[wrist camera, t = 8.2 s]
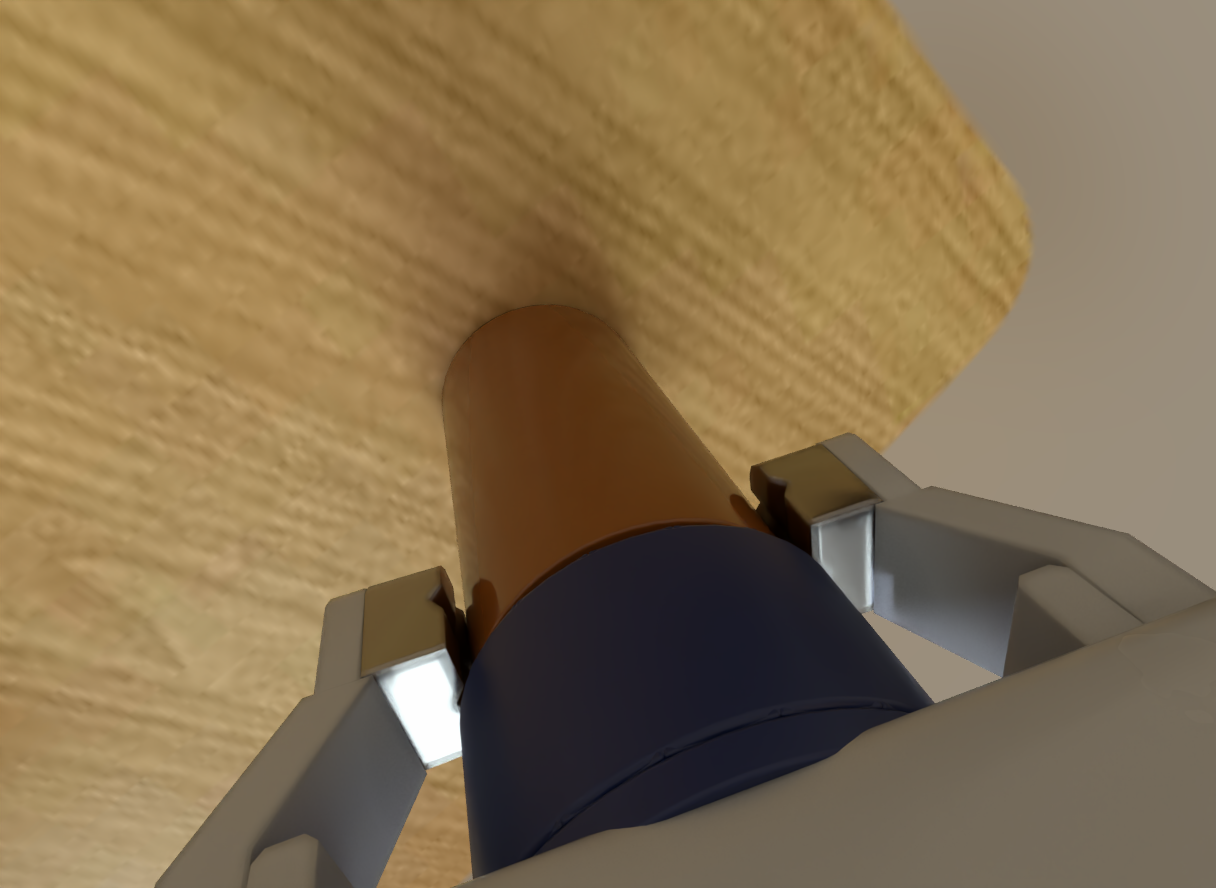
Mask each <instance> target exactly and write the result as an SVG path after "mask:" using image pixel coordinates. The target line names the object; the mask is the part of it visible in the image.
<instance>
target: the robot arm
mask: <svg viewBox="0 0 1216 888" xmlns="http://www.w3.org/2000/svg"><path fill="white" fill-rule="evenodd" d="M750 486H751V491H752V492H753V493H754V495H755V496H756V497H757V498H758V500H759V501H760V504H759V506H758V507H757V509H756V511H757V513H758V514H759V515H760V516H761V518H762V519H763V520H764V522H765V523H766V524H767V525H768V527H769V528H770V529H771V531H772V532H773V533H774V534H775V536H776V537H777V538H780V539H782V540H785V541H787V542H789V543H791V544H793V545H794V546H796V547H798V548H799V549H801V550H803V551H805V552H806V553H807V554H808V555H810V556H811V557H812V558H813V559H814V560H815V561H817V562H818V563H819V564H820V565H821V566H822V567H823V568H824V570H825V571H826V572H827V573H828V575H829V576H830V577H831V578H832V579H833V581H834V582H835V583H836V584H837V585H838V587H839V588H840V589H841V590H842V591H843V593H844V594H845V595H846V596H847V598H848V599H849V600H850V601H851V602H852V604H853V605H854V606H855V607H856V608H857V610H858V611H859V612H860V613H861V614H862V613H865V612H868V611H872V610H874V613H875V614H877V615H879V616H881V617H883V618H885V619H887V620H889V621H891V622H893V623H895V624H897V625H899V626H901V627H903V628H905V629H907V630H909V631H911V632H913V633H915V634H917V635H919V636H921V637H923V638H925V639H927V640H929V641H931V642H933V643H935V644H937V645H939V646H941V647H943V648H945V649H947V650H949V651H951V652H953V653H955V654H956V655H959V656H960V657H962V658H964V659H966V660H969V661H970V662H972V663H974V664H976V665H978V666H980V667H982V668H984V669H986V670H988V671H990V672H993V673H994V674H996V675H998V676H1000V677H1002V678H1001V679H998V680H996V681H993V682H990V683H988V684H985V685H983V686H980V687H977V688H975V689H972V690H969V691H967V692H964V693H962V694H959V695H956V696H954V697H951V698H949V699H946V700H943V701H941V702H938V703H935V704H933V705H930V706H927V707H925V708H922V709H920V710H917V711H914V712H912V713H909V714H906V715H904V716H901V717H899V718H896V719H893V720H891V721H888V722H885V723H883V724H880V725H878V726H875V727H872V728H870V729H868V730H866V731H864V732H863V733H861V734H860V735H859V736H858V737H856V738H855V739H854V740H852V741H851V742H850V743H848V744H847V745H846V746H845V747H843V748H842V749H841V750H840V751H839V752H837V753H836V754H834V755H832V756H830V757H828V758H826V759H824V760H822V761H819V762H817V763H815V764H812V765H809V766H807V767H804V768H801V769H799V770H796V771H793V772H791V773H788V774H786V775H783V776H780V777H778V778H775V779H772V780H770V781H767V782H764V783H762V784H759V785H757V786H754V787H751V788H749V789H746V790H743V791H741V792H738V793H735V794H733V795H730V796H728V797H725V798H722V799H720V800H717V801H714V802H712V803H709V804H706V805H704V806H701V807H699V808H696V809H693V810H691V811H688V812H685V813H683V814H680V815H677V816H675V817H672V818H670V819H667V820H664V821H661V822H657V823H654V824H650V825H647V826H638V827H632V828H622V829H611V830H606V831H602V832H599V833H595V834H592V835H588V836H586V837H583V838H580V839H578V840H575V841H572V842H570V843H567V844H565V845H562V846H559V847H557V848H554V849H551V850H549V851H546V852H544V853H541V854H538V855H536V856H533V857H530V858H528V859H525V860H523V861H520V862H517V863H515V864H512V865H509V866H507V867H504V868H502V869H499V870H496V871H494V872H491V873H488V874H486V875H483V876H480V877H478V878H475V879H473V880H471V881H467V882H465V883H462V884H459V885H457V886H454V887H452V888H1216V591H1214V590H1213V589H1211V588H1210V587H1208V586H1207V585H1205V584H1204V583H1202V582H1201V581H1199V580H1198V579H1196V578H1195V577H1193V576H1192V575H1190V574H1189V573H1187V572H1186V571H1184V570H1183V569H1181V568H1179V567H1178V566H1177V565H1175V564H1174V563H1172V562H1171V561H1169V560H1168V559H1166V558H1165V557H1163V556H1162V555H1160V554H1158V553H1157V552H1156V551H1154V550H1152V549H1151V548H1149V547H1148V546H1146V545H1145V544H1143V543H1142V542H1140V541H1139V540H1137V539H1136V538H1134V537H1133V536H1131V535H1130V534H1127V533H1123V532H1119V531H1115V530H1110V529H1107V528H1103V527H1098V526H1094V525H1090V524H1086V523H1082V522H1078V521H1074V520H1069V519H1066V518H1062V517H1058V516H1053V515H1049V514H1045V513H1041V512H1037V511H1033V510H1029V509H1024V508H1021V507H1016V506H1012V505H1008V504H1004V503H1000V502H996V501H991V500H987V499H984V498H979V497H975V496H971V495H967V494H963V493H959V492H955V491H950V490H946V489H942V488H938V487H934V486H930V487H927V488H924V489H921V488H920V487H919V486H917V485H916V484H915V483H914V482H913V481H911V480H910V479H909V478H908V477H907V476H905V475H904V474H903V473H902V472H900V471H899V470H898V469H897V468H895V467H894V466H893V465H892V464H891V463H890V462H888V461H887V460H886V459H884V458H883V457H882V456H881V455H880V454H879V453H877V452H876V451H875V450H874V449H873V448H871V447H870V446H869V445H868V444H866V443H865V442H864V441H863V440H862V439H860V438H859V437H858V436H857V435H855V434H852V433H845V434H842V435H839V436H836V437H833V438H831V439H828V440H825V441H822V442H819V443H816V445H814V446H811V447H808V448H805V449H802V450H799V451H796V452H793V453H790V454H787V455H784V456H781V457H777V458H774V459H771V460H768V461H765V462H762V463H759V464H756V465H753V466H751V470H750ZM471 667H472V665H471V657H470V648H469V639H468V630H467V622H466V617H465V614H464V612H463V611H462V610H460V609H458V608H456V607H455V599H454V590H453V586H452V584H451V582H450V579H449V577H448V575H447V573H446V571H445V569H444V568H443V567H442V566H437V567H434V568H431V569H427V570H424V571H421V572H417V573H414V574H411V575H407V576H404V577H401V578H397V579H394V580H391V581H387V582H384V583H381V584H377V585H374V586H371V587H368V589H362V590H358V591H355V592H352V593H349V594H346V595H342V596H339V597H336V598H333V599H331V600H330V601H329V602H328V604H327V605H326V607H325V612H324V620H323V627H322V635H321V643H320V650H319V658H318V666H317V673H316V681H315V689H314V695H311V696H308V697H305V698H302V699H301V701H300V702H299V703H298V704H297V706H296V707H295V708H294V709H293V711H292V712H291V713H290V714H289V716H288V717H287V718H286V720H285V721H284V722H283V723H282V725H281V726H280V727H279V728H278V730H277V731H276V732H275V733H274V735H273V736H272V737H271V738H270V740H269V741H268V742H267V743H266V745H265V746H264V747H263V749H262V750H261V751H260V752H259V754H258V755H257V756H256V757H255V759H254V760H253V761H252V762H251V764H250V765H249V766H248V767H247V769H246V770H245V771H244V773H243V774H242V775H241V776H240V778H239V779H238V780H237V781H236V783H235V784H234V785H233V786H232V788H231V789H230V790H229V791H228V793H227V794H226V795H225V797H224V798H223V799H222V800H221V802H220V803H219V804H218V805H217V807H216V808H215V809H214V810H213V812H212V813H211V814H210V815H209V817H208V818H207V819H206V821H205V822H204V823H203V824H202V826H201V827H200V828H199V829H198V831H197V832H196V833H195V834H194V836H193V837H192V838H191V839H190V841H189V842H188V843H187V845H186V846H185V847H184V848H183V850H182V851H181V852H180V853H179V855H178V856H177V857H176V858H175V860H174V861H173V862H172V863H171V865H170V866H169V867H168V869H167V870H166V871H165V872H164V874H163V875H162V876H161V877H160V879H159V880H158V881H157V882H156V884H155V887H154V888H376V886H377V884H378V882H379V880H380V877H381V875H382V873H383V871H384V869H385V866H386V864H387V862H388V860H389V857H390V855H391V853H392V851H393V848H394V846H395V844H396V842H397V839H398V837H399V835H400V833H401V831H402V828H403V826H404V824H405V822H406V819H407V817H408V815H409V813H410V810H411V808H412V806H413V804H414V801H415V799H416V797H417V795H418V793H419V790H420V788H421V786H422V784H423V781H424V779H425V777H426V775H427V773H426V771H425V770H427V769H430V768H432V767H435V766H437V765H440V764H443V763H445V762H448V761H450V760H453V759H455V758H458V757H461V756H462V747H461V736H460V707H461V701H462V696H463V692H464V688H465V684H466V681H467V679H468V676H469V673H470V669H471Z"/></svg>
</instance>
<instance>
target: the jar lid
mask: <svg viewBox="0 0 1216 888" xmlns="http://www.w3.org/2000/svg"><path fill="white" fill-rule="evenodd" d="M933 704H935V703H934V702H933V701H932V699H931V698H930V697H929V696H928V694H927V693H926V692H925V691H924V690H923V689H922V687H921V686H920V685H919V684H918V682H917V681H916V680H915V679H914V677H913V676H912V675H911V674H910V673H909V671H908V670H907V669H906V668H905V667H904V665H903V664H902V663H901V662H900V661H899V659H898V658H897V657H896V656H895V654H894V653H893V652H892V651H891V650H890V648H889V647H888V646H887V645H886V644H885V642H884V641H883V640H882V639H881V638H880V636H879V635H878V634H877V633H876V632H875V630H874V629H873V628H872V627H871V625H870V624H869V623H868V622H867V621H866V619H865V618H864V617H863V616H862V614H861V613H860V612H859V611H858V610H857V608H856V607H855V606H854V605H853V604H852V602H851V601H850V600H849V599H848V598H847V596H846V595H845V594H844V593H843V591H842V590H841V589H840V588H839V587H838V585H837V584H836V583H835V582H834V581H833V579H832V578H831V577H830V576H829V575H828V573H827V572H826V571H825V570H824V568H823V567H822V566H821V565H820V564H819V563H818V562H817V561H815V560H814V559H813V558H812V557H811V556H810V555H808V554H807V553H806V552H805V551H803V550H801V549H799V548H798V547H796V546H794V545H793V544H791V543H789V542H787V541H785V540H782V539H780V538H777V537H774V536H772V535H769V534H767V533H764V532H760V531H758V530H756V529H751V528H748V527H736V526H725V525H686V526H674V527H666V528H663V529H659V530H655V531H651V532H647V533H644V534H640V535H636V536H632V537H629V538H626V539H623V540H621V541H618V542H615V543H613V544H610V545H607V546H605V547H602V548H599V549H596V550H593V551H590V552H589V554H584V555H583V556H581V557H580V558H579V559H577V560H575V561H574V562H572V563H571V564H569V565H567V566H566V567H564V568H563V569H561V570H559V571H558V572H556V573H555V574H553V575H551V576H550V577H548V578H547V579H546V580H545V581H543V582H542V583H541V584H540V585H538V586H537V587H536V588H534V589H533V590H532V591H531V592H529V593H528V594H527V595H526V596H524V597H523V598H522V599H520V600H519V601H518V602H517V603H516V605H513V607H512V608H511V610H510V611H509V612H508V613H507V614H506V616H505V617H504V618H503V619H502V621H501V622H500V623H499V624H498V626H497V627H496V628H495V629H494V631H493V632H492V633H491V634H490V636H489V637H488V639H487V641H486V642H485V644H484V646H483V647H482V649H481V651H480V652H479V654H478V656H477V658H476V660H475V661H474V663H473V664H472V667H471V669H470V673H469V676H468V679H467V681H466V684H465V688H464V692H463V696H462V701H461V707H460V736H461V747H462V759H463V770H464V782H465V793H466V805H467V816H468V828H469V839H470V851H471V863H472V874H473V879H475V878H478V877H480V876H483V875H486V874H488V873H491V872H494V871H496V870H499V869H502V868H504V867H507V866H509V865H512V864H515V863H517V862H520V861H523V860H525V859H528V858H530V857H533V856H536V855H538V854H541V853H544V852H546V851H549V850H551V849H554V848H557V847H559V846H562V845H565V844H567V843H570V842H572V841H575V840H578V839H580V838H583V837H586V836H588V835H592V834H595V833H599V832H602V831H606V830H611V829H622V828H632V827H638V826H647V825H650V824H654V823H657V822H661V821H664V820H667V819H670V818H672V817H675V816H677V815H680V814H683V813H685V812H688V811H691V810H693V809H696V808H699V807H701V806H704V805H706V804H709V803H712V802H714V801H717V800H720V799H722V798H725V797H728V796H730V795H733V794H735V793H738V792H741V791H743V790H746V789H749V788H751V787H754V786H757V785H759V784H762V783H764V782H767V781H770V780H772V779H775V778H778V777H780V776H783V775H786V774H788V773H791V772H793V771H796V770H799V769H801V768H804V767H807V766H809V765H812V764H815V763H817V762H819V761H822V760H824V759H826V758H828V757H830V756H832V755H834V754H836V753H837V752H839V751H840V750H841V749H842V748H843V747H845V746H846V745H847V744H848V743H850V742H851V741H852V740H854V739H855V738H856V737H858V736H859V735H860V734H861V733H863V732H864V731H866V730H868V729H870V728H872V727H875V726H878V725H880V724H883V723H885V722H888V721H891V720H893V719H896V718H899V717H901V716H904V715H906V714H909V713H912V712H914V711H917V710H920V709H922V708H925V707H927V706H930V705H933Z"/></svg>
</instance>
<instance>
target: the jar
mask: <svg viewBox="0 0 1216 888" xmlns="http://www.w3.org/2000/svg"><path fill="white" fill-rule="evenodd" d="M442 412H443V422H444V430H445V439H446V448H447V456H448V465H449V474H450V482H451V491H452V500H453V509H454V517H455V526H456V535H457V543H458V552H459V561H460V570H461V578H462V587H463V596H464V604H465V613H466V622H467V630H468V639H469V648H470V657H471V665H472V664H473V663H474V661H475V660H476V658H477V656H478V654H479V652H480V651H481V649H482V647H483V646H484V644H485V642H486V641H487V639H488V637H489V636H490V634H491V633H492V632H493V631H494V629H495V628H496V627H497V626H498V624H499V623H500V622H501V621H502V619H503V618H504V617H505V616H506V614H507V613H508V612H509V611H510V610H511V608H512V607H513V605H516V603H517V602H518V601H519V600H520V599H522V598H523V597H524V596H526V595H527V594H528V593H529V592H531V591H532V590H533V589H534V588H536V587H537V586H538V585H540V584H541V583H542V582H543V581H545V580H546V579H547V578H548V577H550V576H551V575H553V574H555V573H556V572H558V571H559V570H561V569H563V568H564V567H566V566H567V565H569V564H571V563H572V562H574V561H575V560H577V559H579V558H580V557H581V556H583V555H584V554H589V552H590V551H593V550H596V549H599V548H602V547H605V546H607V545H610V544H613V543H615V542H618V541H621V540H623V539H626V538H629V537H632V536H636V535H640V534H644V533H647V532H651V531H655V530H659V529H663V528H666V527H674V526H686V525H725V526H736V527H748V528H751V529H756V530H758V531H760V532H764V533H767V534H769V535H772V536H774V537H776V536H775V534H774V533H773V532H772V531H771V529H770V528H769V527H768V525H767V524H766V523H765V522H764V520H763V519H762V518H761V516H760V515H759V514H758V513H757V511H756V510H755V509H754V508H753V506H752V505H751V504H750V502H749V501H748V500H747V499H746V497H745V496H744V495H743V493H742V492H741V491H740V490H739V488H738V487H737V486H736V485H735V483H734V482H733V481H732V479H731V478H730V477H729V476H728V474H727V473H726V472H725V470H724V469H723V468H722V467H721V465H720V464H719V463H718V461H717V460H716V459H715V458H714V456H713V455H712V454H711V453H710V451H709V450H708V449H707V447H706V446H705V445H704V444H703V442H702V441H701V440H700V438H699V437H698V436H697V435H696V433H695V432H694V431H693V430H692V428H691V427H690V426H689V424H688V423H687V422H686V421H685V419H684V418H683V417H682V415H681V414H680V413H679V412H678V410H677V409H676V408H675V406H674V405H673V404H672V403H671V401H670V400H669V399H668V398H667V396H666V395H665V394H664V392H663V391H662V390H661V389H660V387H659V386H658V385H657V383H656V382H655V381H654V380H653V378H652V377H651V376H650V375H649V373H648V372H647V371H646V369H645V368H644V367H643V366H642V364H641V363H640V362H639V360H638V359H637V358H636V357H635V355H634V354H633V353H632V351H631V350H630V349H629V348H628V346H627V345H626V344H625V343H624V341H623V340H622V339H621V337H620V336H619V335H618V334H617V333H616V332H615V331H614V330H613V329H612V328H611V327H610V326H608V325H607V324H606V323H604V322H603V321H602V320H600V319H598V318H596V317H595V316H593V315H591V314H589V313H586V312H584V311H581V310H579V309H575V308H571V307H566V306H559V305H535V306H529V307H523V308H520V309H516V310H513V311H510V312H507V313H505V314H503V315H500V316H498V317H496V318H495V319H493V320H491V321H490V322H488V323H486V324H485V325H483V326H482V327H481V328H480V329H478V330H477V331H476V332H474V333H473V335H472V336H471V337H470V338H469V339H468V340H467V341H466V342H465V343H464V344H463V345H462V347H461V348H460V349H459V351H458V352H457V354H456V355H455V357H454V359H453V361H452V363H451V364H450V367H449V369H448V372H447V375H446V377H445V382H444V386H443V393H442Z"/></svg>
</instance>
